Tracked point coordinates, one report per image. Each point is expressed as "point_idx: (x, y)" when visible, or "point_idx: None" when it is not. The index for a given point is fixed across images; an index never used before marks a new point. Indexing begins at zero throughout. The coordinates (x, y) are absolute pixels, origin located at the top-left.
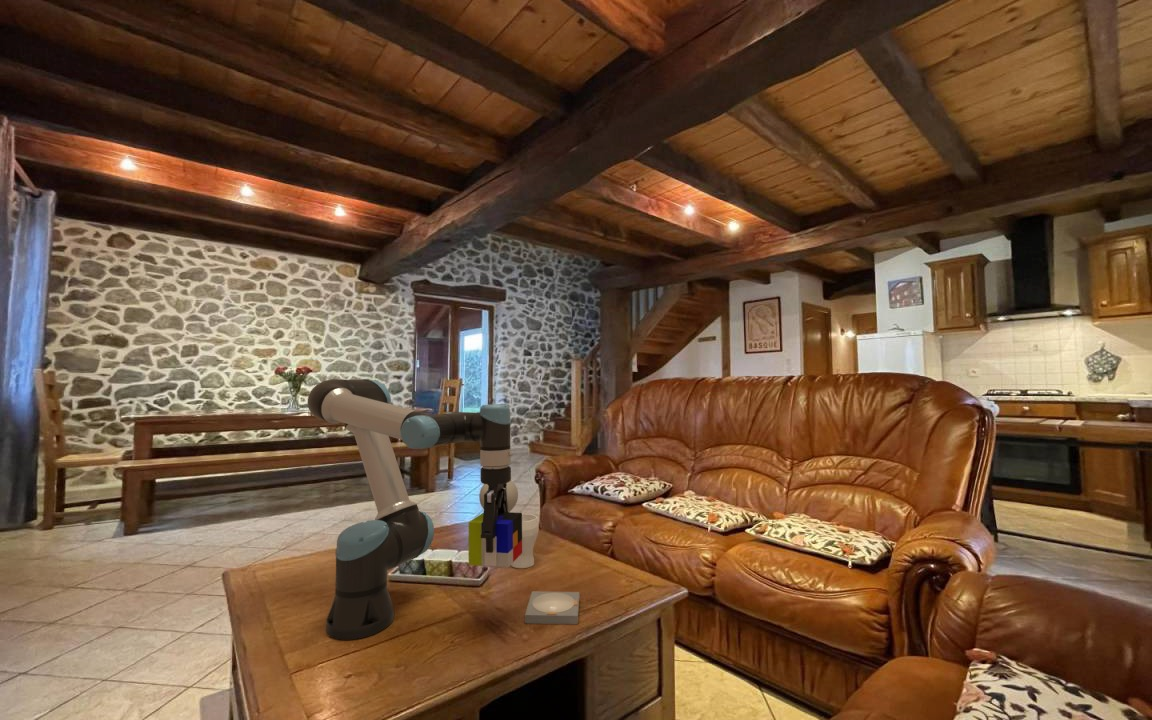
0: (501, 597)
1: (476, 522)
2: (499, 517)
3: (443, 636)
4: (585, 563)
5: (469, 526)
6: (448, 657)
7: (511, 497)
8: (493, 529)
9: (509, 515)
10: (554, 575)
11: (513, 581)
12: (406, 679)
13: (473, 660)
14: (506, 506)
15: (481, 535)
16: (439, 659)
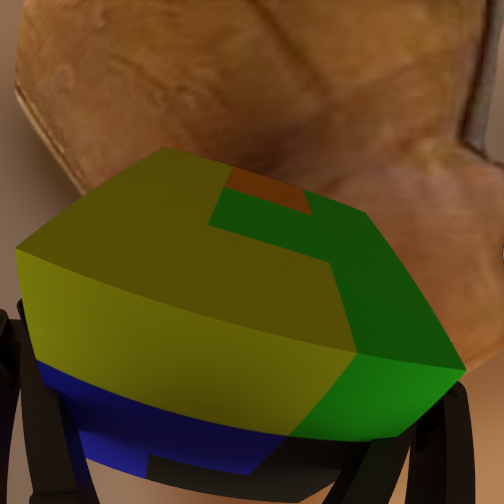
0: (391, 191)
1: (31, 324)
2: (203, 459)
3: (207, 62)
4: (465, 352)
5: (43, 235)
6: (123, 98)
7: None
8: (16, 386)
9: (252, 484)
10: (450, 305)
11: (460, 222)
12: (68, 49)
13: (113, 152)
14: (407, 483)
15: (18, 307)
16: (118, 82)
